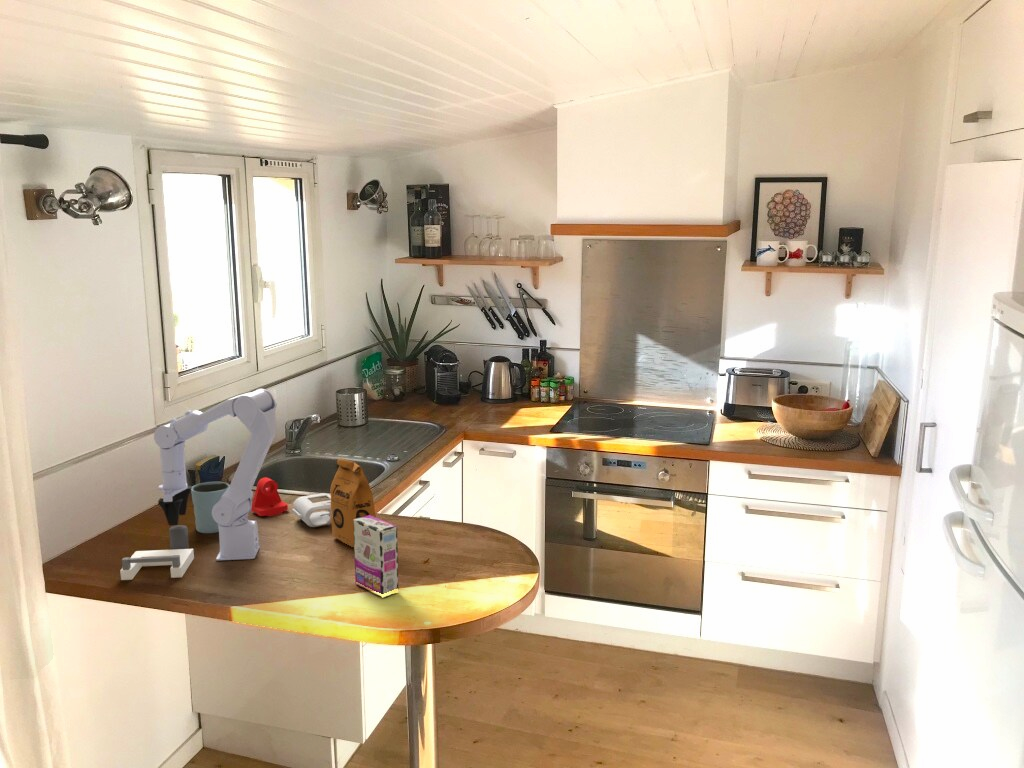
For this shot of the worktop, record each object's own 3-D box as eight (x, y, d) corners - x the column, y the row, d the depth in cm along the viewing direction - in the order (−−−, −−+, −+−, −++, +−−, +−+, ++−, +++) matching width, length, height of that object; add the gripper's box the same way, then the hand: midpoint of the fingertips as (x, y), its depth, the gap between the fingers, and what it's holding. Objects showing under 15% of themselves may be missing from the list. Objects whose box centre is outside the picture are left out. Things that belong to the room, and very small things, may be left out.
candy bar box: (400, 592, 196) (398, 525, 193) (382, 599, 193) (380, 531, 190) (371, 578, 204) (369, 513, 201) (354, 584, 201) (352, 518, 198)
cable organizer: (345, 502, 239) (330, 491, 249) (302, 510, 232) (289, 498, 242) (346, 525, 240) (331, 513, 250) (303, 533, 234) (290, 520, 244)
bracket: (261, 518, 245) (259, 485, 243) (251, 513, 250) (250, 480, 248) (289, 511, 251) (287, 479, 249) (279, 506, 255) (277, 474, 253)
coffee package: (348, 552, 220) (344, 471, 216) (327, 538, 230) (324, 460, 226) (382, 543, 226) (379, 464, 222) (360, 530, 236) (358, 454, 232)
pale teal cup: (186, 531, 235) (182, 490, 232) (209, 519, 244) (207, 479, 242) (216, 535, 231) (213, 493, 229) (239, 523, 241) (237, 483, 239)
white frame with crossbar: (194, 557, 216) (192, 538, 215) (181, 577, 205) (180, 557, 204) (136, 560, 215) (135, 541, 214) (121, 580, 203) (119, 560, 202)
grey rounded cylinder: (190, 546, 224) (189, 524, 223) (186, 552, 220) (184, 530, 219) (173, 547, 223) (171, 525, 222) (168, 553, 219) (167, 531, 218)
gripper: (165, 461, 224) (168, 510, 227) (148, 478, 210) (153, 530, 212) (192, 461, 225) (196, 509, 227) (178, 477, 211) (182, 529, 213)
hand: (177, 519), depth 220 cm, fingers open, 7 cm apart
